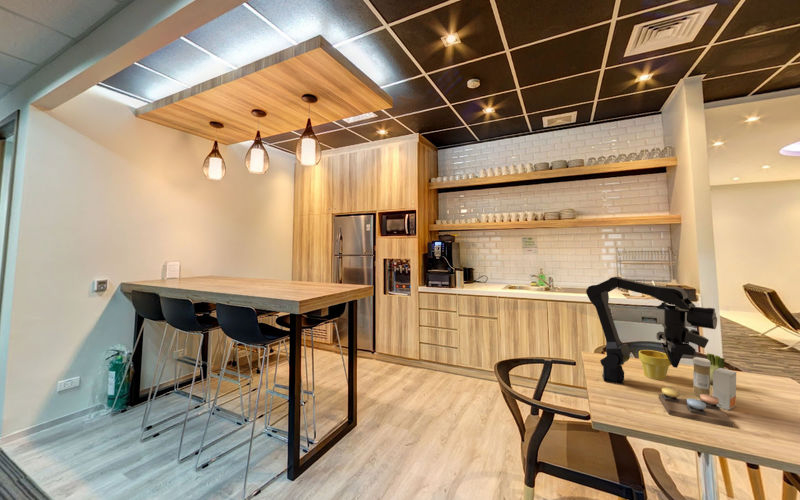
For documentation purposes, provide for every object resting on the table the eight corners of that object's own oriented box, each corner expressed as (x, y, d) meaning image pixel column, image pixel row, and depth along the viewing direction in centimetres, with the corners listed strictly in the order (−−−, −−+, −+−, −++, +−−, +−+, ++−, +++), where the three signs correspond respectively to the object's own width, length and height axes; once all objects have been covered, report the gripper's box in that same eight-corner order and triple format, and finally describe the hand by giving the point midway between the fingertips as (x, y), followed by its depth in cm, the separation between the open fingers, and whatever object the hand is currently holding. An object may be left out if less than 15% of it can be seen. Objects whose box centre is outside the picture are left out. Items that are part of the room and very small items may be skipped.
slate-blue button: (689, 410, 97) (689, 403, 97) (684, 403, 101) (684, 397, 101) (708, 413, 95) (708, 406, 95) (702, 407, 99) (702, 400, 99)
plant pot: (643, 380, 124) (643, 356, 124) (635, 370, 134) (635, 348, 134) (675, 384, 120) (675, 359, 120) (664, 374, 130) (664, 351, 130)
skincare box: (729, 411, 101) (730, 375, 101) (712, 405, 105) (712, 370, 104) (736, 406, 104) (736, 371, 103) (719, 400, 107) (719, 367, 107)
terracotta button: (703, 405, 100) (703, 398, 100) (697, 399, 104) (697, 392, 104) (721, 408, 98) (721, 401, 98) (715, 402, 102) (715, 395, 102)
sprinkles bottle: (711, 396, 111) (712, 359, 111) (708, 399, 108) (708, 362, 108) (694, 391, 114) (695, 355, 114) (691, 394, 112) (691, 358, 112)
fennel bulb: (727, 389, 116) (727, 358, 116) (710, 386, 118) (710, 356, 118) (718, 382, 122) (718, 353, 122) (702, 380, 123) (702, 351, 123)
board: (668, 414, 99) (668, 407, 99) (658, 398, 109) (658, 391, 109) (733, 427, 92) (733, 419, 92) (715, 408, 102) (715, 401, 102)
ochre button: (663, 398, 105) (664, 391, 105) (660, 392, 108) (660, 386, 108) (680, 401, 102) (680, 394, 102) (676, 395, 106) (676, 389, 106)
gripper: (717, 332, 96) (717, 381, 96) (694, 319, 112) (694, 361, 112) (671, 328, 101) (671, 374, 101) (656, 316, 117) (656, 356, 118)
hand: (674, 366), depth 108 cm, fingers closed
